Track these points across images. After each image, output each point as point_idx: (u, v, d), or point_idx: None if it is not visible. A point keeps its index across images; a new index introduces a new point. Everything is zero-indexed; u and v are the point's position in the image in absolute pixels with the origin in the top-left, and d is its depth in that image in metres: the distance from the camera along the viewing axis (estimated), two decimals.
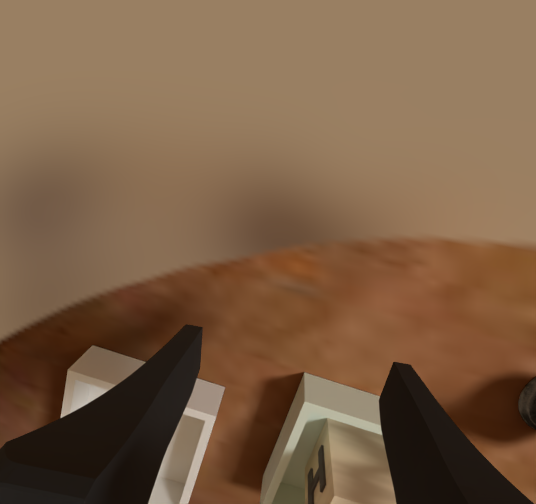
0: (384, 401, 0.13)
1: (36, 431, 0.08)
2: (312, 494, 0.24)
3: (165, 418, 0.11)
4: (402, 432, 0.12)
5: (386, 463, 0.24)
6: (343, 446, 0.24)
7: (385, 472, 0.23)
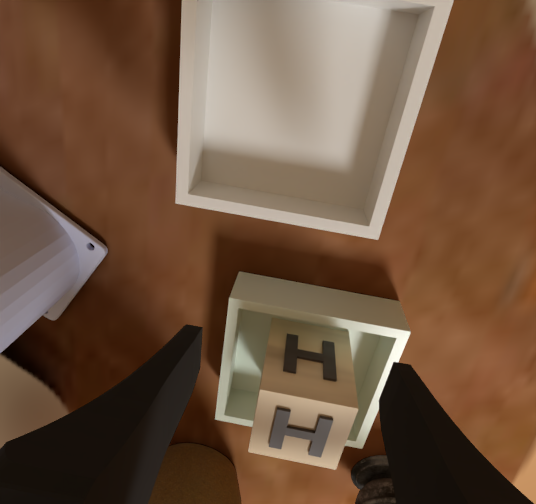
0: (384, 401, 0.13)
1: (36, 431, 0.08)
2: (296, 359, 0.21)
3: (165, 418, 0.11)
4: (402, 432, 0.12)
5: None
6: None
7: None
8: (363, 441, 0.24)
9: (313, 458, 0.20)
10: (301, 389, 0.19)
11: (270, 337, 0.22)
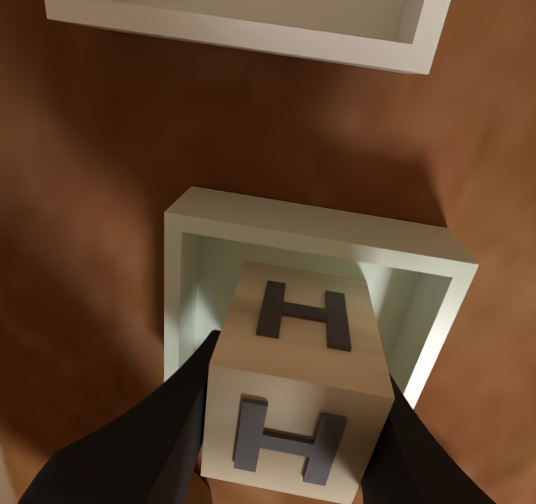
0: None
1: (83, 440, 0.08)
2: (281, 316, 0.12)
3: (198, 424, 0.11)
4: None
5: None
6: None
7: None
8: None
9: (312, 486, 0.12)
10: (287, 364, 0.10)
11: (239, 286, 0.13)
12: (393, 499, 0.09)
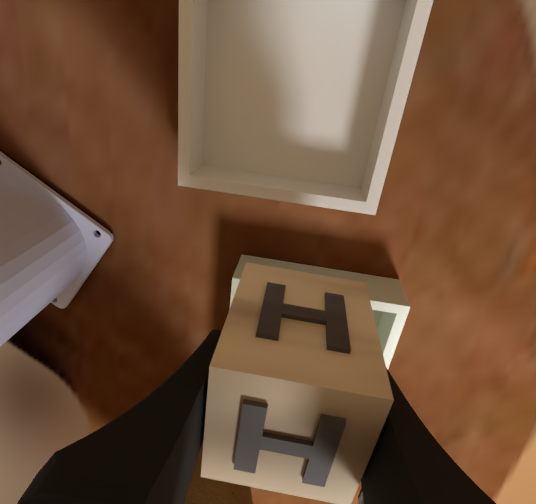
0: None
1: (82, 440, 0.08)
2: (281, 318, 0.12)
3: (198, 424, 0.11)
4: None
5: None
6: None
7: None
8: None
9: (311, 488, 0.12)
10: (286, 367, 0.10)
11: (239, 287, 0.14)
12: (393, 499, 0.09)
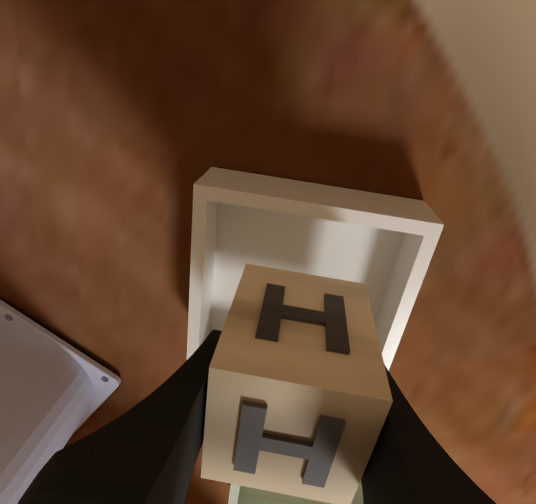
0: None
1: (82, 440, 0.08)
2: (281, 319, 0.12)
3: (198, 424, 0.11)
4: None
5: None
6: None
7: None
8: None
9: (311, 488, 0.12)
10: (286, 368, 0.10)
11: (239, 289, 0.14)
12: (393, 499, 0.09)
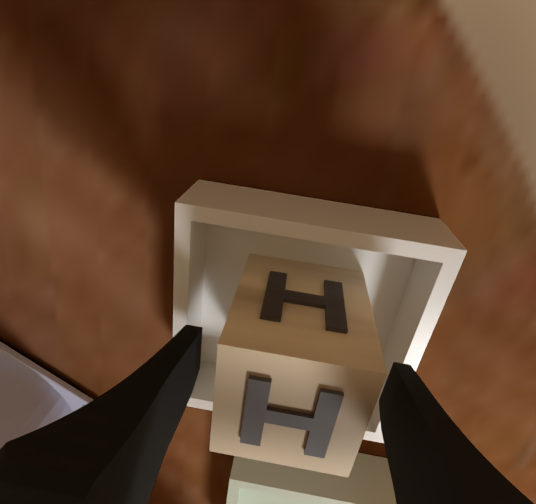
0: (384, 401, 0.13)
1: (36, 431, 0.08)
2: (283, 302, 0.13)
3: (165, 418, 0.11)
4: (402, 432, 0.12)
5: None
6: None
7: None
8: None
9: (312, 460, 0.13)
10: (288, 344, 0.11)
11: (244, 276, 0.14)
12: None
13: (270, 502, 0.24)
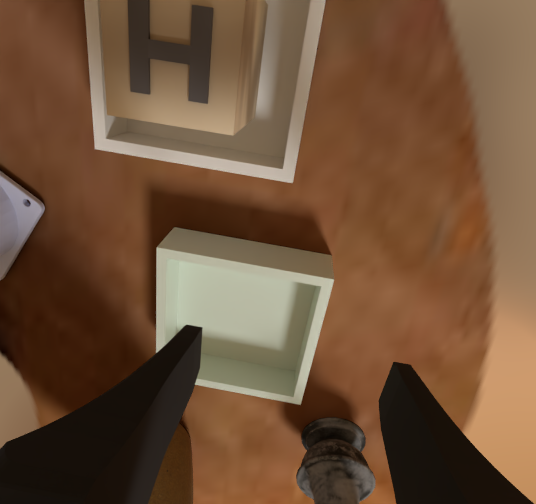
0: (384, 401, 0.13)
1: (36, 431, 0.08)
2: None
3: (165, 418, 0.11)
4: (402, 432, 0.12)
5: (250, 96, 0.17)
6: (259, 23, 0.16)
7: (248, 92, 0.16)
8: (301, 396, 0.25)
9: (198, 114, 0.14)
10: None
11: None
12: None
13: (207, 312, 0.25)
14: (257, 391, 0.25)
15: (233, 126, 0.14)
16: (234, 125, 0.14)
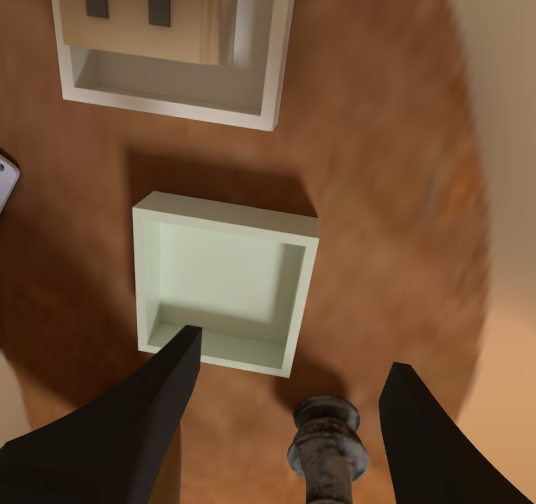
0: (384, 401, 0.13)
1: (36, 431, 0.08)
2: None
3: (165, 418, 0.11)
4: (402, 432, 0.12)
5: (223, 34, 0.16)
6: None
7: (219, 26, 0.15)
8: (289, 369, 0.24)
9: (161, 40, 0.13)
10: None
11: None
12: None
13: (191, 282, 0.24)
14: (243, 364, 0.24)
15: (199, 53, 0.13)
16: (200, 52, 0.13)
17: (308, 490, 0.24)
